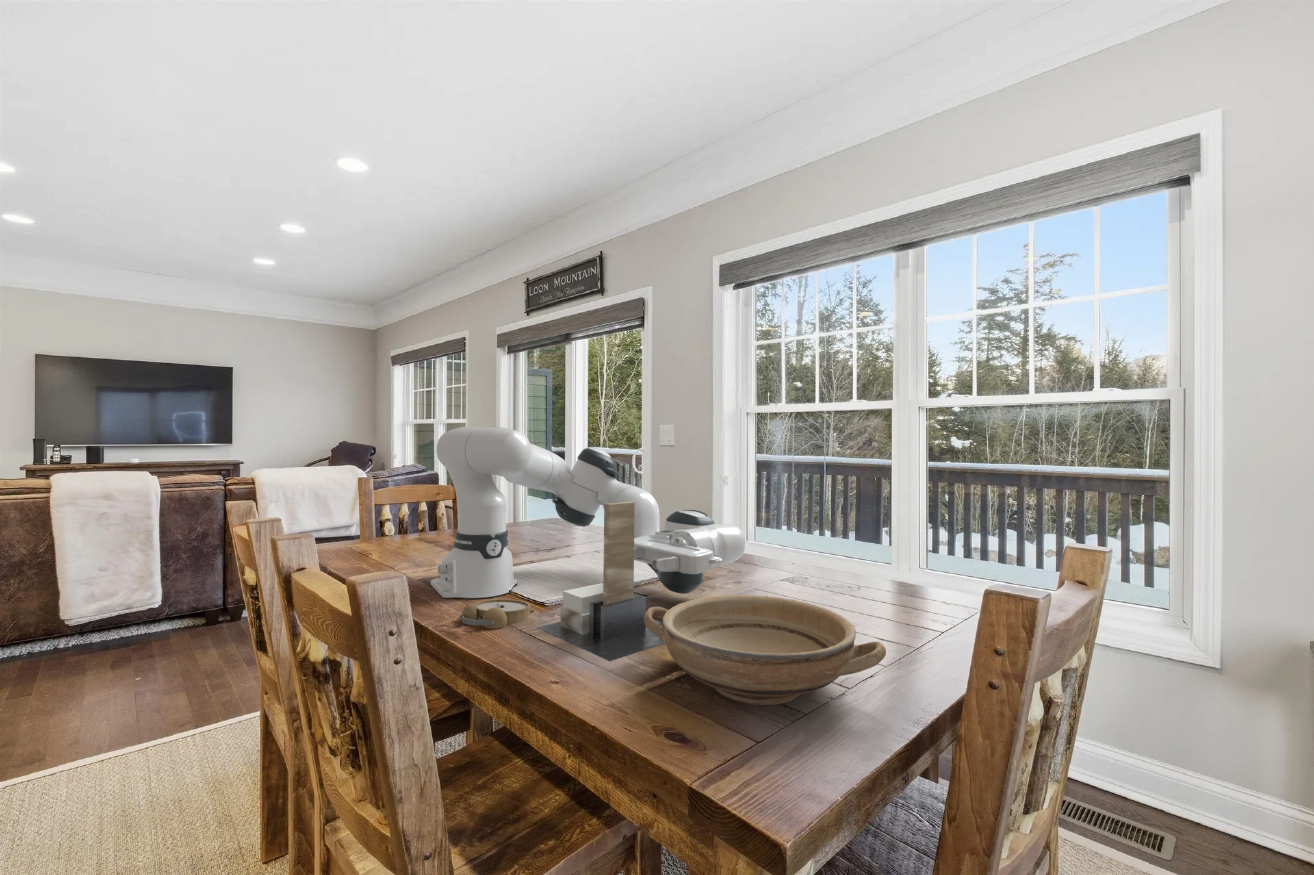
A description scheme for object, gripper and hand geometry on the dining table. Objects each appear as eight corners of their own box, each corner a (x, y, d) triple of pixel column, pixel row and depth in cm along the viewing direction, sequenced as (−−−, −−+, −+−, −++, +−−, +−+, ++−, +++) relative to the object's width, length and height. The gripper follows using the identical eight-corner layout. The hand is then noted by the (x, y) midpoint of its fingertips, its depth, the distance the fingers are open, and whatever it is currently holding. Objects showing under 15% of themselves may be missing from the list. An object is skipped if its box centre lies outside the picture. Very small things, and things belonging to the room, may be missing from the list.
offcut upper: (562, 606, 113) (563, 591, 113) (603, 597, 120) (604, 582, 120) (581, 614, 109) (581, 597, 109) (622, 603, 116) (623, 588, 116)
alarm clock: (543, 604, 121) (493, 610, 108) (540, 629, 120) (489, 637, 107) (500, 596, 126) (447, 601, 113) (497, 620, 125) (444, 628, 112)
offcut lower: (560, 625, 113) (560, 607, 113) (609, 613, 121) (609, 596, 121) (582, 634, 108) (582, 615, 108) (631, 621, 116) (632, 603, 116)
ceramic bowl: (600, 697, 85) (601, 627, 85) (681, 637, 111) (682, 583, 110) (872, 764, 68) (873, 678, 68) (894, 675, 94) (895, 612, 94)
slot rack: (536, 632, 112) (537, 595, 112) (618, 611, 125) (618, 578, 125) (609, 667, 96) (610, 624, 96) (694, 638, 109) (694, 601, 109)
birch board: (602, 634, 108) (604, 503, 108) (627, 627, 112) (629, 501, 112) (608, 636, 107) (609, 504, 107) (633, 629, 111) (634, 502, 111)
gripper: (726, 575, 114) (676, 587, 105) (654, 558, 129) (605, 567, 120) (727, 543, 114) (676, 552, 105) (655, 529, 129) (605, 536, 120)
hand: (638, 560), depth 112 cm, fingers open, 8 cm apart
